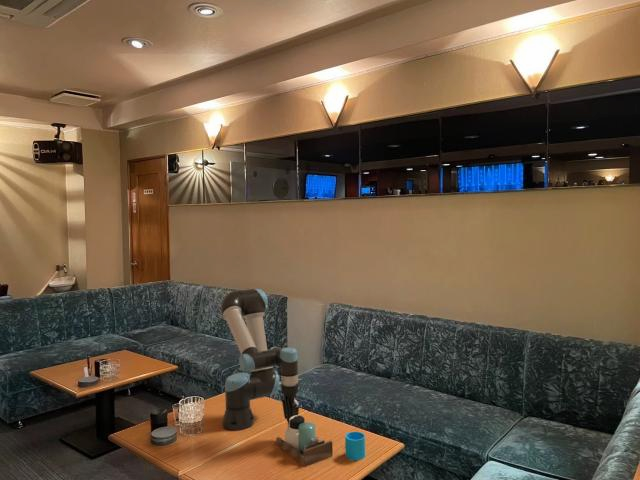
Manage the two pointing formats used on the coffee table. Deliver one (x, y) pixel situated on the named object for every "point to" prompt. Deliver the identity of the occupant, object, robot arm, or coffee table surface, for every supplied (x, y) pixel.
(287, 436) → the container
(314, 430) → the capsule
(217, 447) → the coffee table surface
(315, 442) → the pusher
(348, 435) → the mug
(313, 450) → the frame
